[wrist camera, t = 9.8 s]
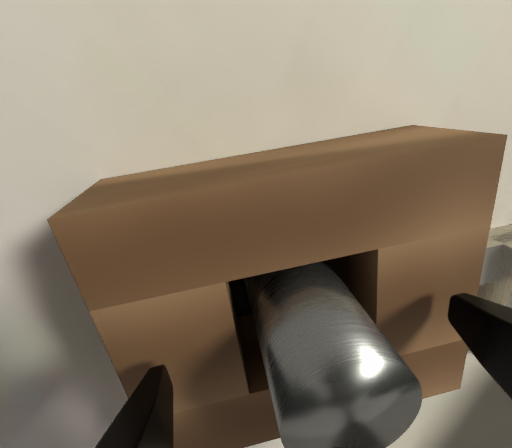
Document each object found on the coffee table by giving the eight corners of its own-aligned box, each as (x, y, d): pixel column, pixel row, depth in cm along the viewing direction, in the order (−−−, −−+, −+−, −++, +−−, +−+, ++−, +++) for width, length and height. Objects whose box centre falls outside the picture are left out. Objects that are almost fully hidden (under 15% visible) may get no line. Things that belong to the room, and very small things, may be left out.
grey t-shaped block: (519, 321, 18) (563, 352, 16) (426, 345, 17) (459, 380, 15) (548, 213, 15) (608, 232, 13) (439, 237, 14) (482, 261, 12)
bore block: (399, 322, 16) (460, 388, 12) (171, 377, 15) (161, 470, 11) (412, 125, 12) (507, 134, 8) (100, 179, 11) (46, 219, 7)
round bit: (319, 287, 14) (416, 444, 8) (248, 303, 14) (288, 479, 7) (314, 222, 13) (428, 344, 6) (236, 237, 12) (271, 384, 6)
